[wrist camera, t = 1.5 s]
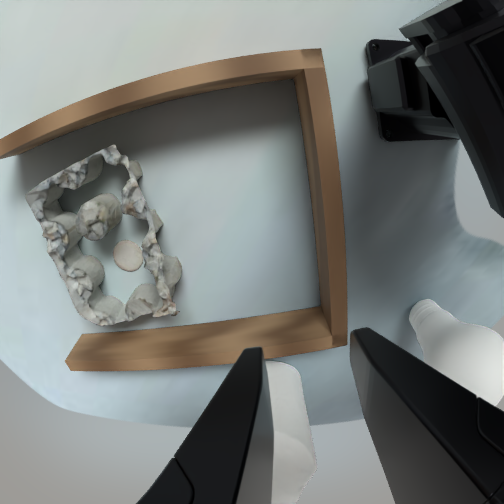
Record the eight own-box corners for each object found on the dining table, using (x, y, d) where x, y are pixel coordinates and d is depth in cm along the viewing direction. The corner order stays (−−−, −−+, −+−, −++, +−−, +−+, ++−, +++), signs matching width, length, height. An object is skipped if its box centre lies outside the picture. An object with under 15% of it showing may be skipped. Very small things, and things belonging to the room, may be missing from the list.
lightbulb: (415, 347, 24) (471, 444, 14) (369, 322, 23) (426, 436, 12) (460, 292, 22) (538, 377, 12) (419, 258, 21) (511, 352, 10)
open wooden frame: (307, 61, 16) (320, 48, 12) (334, 314, 22) (347, 345, 19) (17, 141, 17) (-14, 147, 13) (86, 343, 23) (70, 370, 20)
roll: (330, 494, 13) (319, 521, 15) (302, 356, 24) (300, 401, 26) (216, 502, 13) (229, 528, 15) (225, 362, 24) (232, 406, 26)
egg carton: (194, 288, 22) (185, 323, 18) (105, 308, 22) (85, 341, 18) (140, 136, 17) (115, 140, 14) (49, 177, 18) (14, 191, 14)
